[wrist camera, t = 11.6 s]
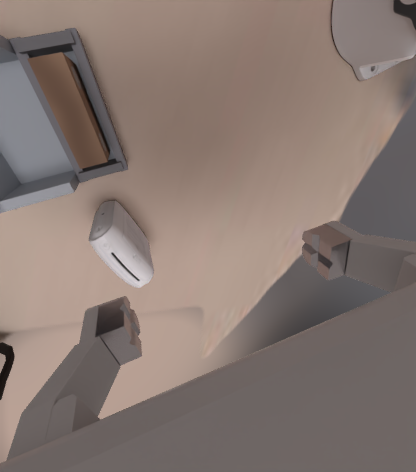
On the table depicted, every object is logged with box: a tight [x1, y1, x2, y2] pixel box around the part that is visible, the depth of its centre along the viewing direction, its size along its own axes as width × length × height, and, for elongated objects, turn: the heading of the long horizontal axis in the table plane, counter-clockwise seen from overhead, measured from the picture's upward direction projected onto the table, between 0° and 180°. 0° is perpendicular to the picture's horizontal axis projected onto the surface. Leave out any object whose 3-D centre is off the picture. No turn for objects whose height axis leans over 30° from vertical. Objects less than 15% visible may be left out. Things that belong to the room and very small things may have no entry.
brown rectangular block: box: [27, 52, 110, 169], centre depth 27 cm, size 3×10×8 cm, turn 12°
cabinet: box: [0, 28, 128, 213], centre depth 27 cm, size 15×15×8 cm
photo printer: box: [89, 200, 154, 288], centre depth 35 cm, size 10×4×12 cm, turn 27°
